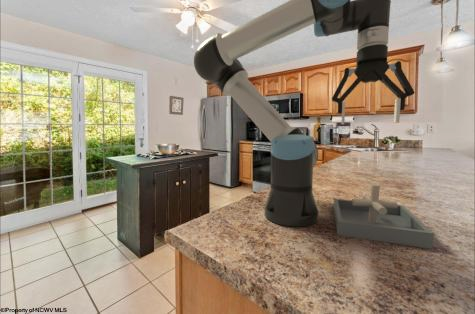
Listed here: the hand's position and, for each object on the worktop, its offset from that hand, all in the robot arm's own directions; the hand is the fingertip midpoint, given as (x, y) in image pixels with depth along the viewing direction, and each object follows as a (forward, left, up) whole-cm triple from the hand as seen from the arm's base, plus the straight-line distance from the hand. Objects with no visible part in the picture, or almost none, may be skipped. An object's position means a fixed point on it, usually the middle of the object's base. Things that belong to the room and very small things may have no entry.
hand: (368, 123), depth 64 cm
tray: (0, -11, -27) cm, 29 cm away
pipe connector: (0, -11, -26) cm, 28 cm away
